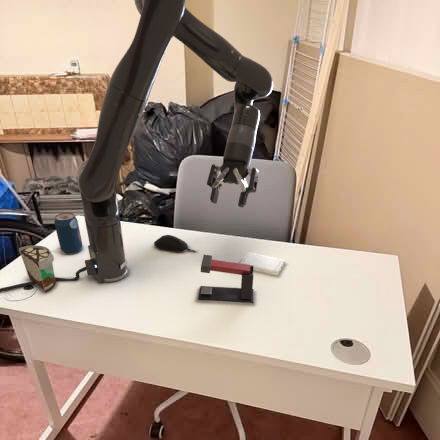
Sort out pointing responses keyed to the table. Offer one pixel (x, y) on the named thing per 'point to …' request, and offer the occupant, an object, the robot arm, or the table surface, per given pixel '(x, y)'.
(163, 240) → the gaming mouse
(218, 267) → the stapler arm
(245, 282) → the stapler base
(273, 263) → the hard drive
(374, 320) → the table surface
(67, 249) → the soda can
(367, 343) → the table surface
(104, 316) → the table surface
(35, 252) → the food container
